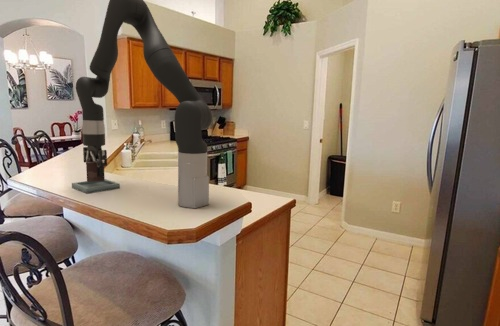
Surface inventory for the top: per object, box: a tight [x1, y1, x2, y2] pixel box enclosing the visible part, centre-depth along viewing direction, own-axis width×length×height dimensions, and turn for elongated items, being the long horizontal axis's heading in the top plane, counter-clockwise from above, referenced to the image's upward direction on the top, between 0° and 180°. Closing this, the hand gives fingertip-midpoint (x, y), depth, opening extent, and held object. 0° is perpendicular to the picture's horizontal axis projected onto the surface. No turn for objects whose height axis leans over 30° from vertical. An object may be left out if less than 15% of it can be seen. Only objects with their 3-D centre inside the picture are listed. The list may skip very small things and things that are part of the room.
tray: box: [71, 178, 121, 194], centre depth 120 cm, size 12×12×2 cm
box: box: [85, 160, 106, 182], centre depth 119 cm, size 6×6×7 cm
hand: (95, 175), depth 119 cm, fingers closed on box, 7 cm apart
